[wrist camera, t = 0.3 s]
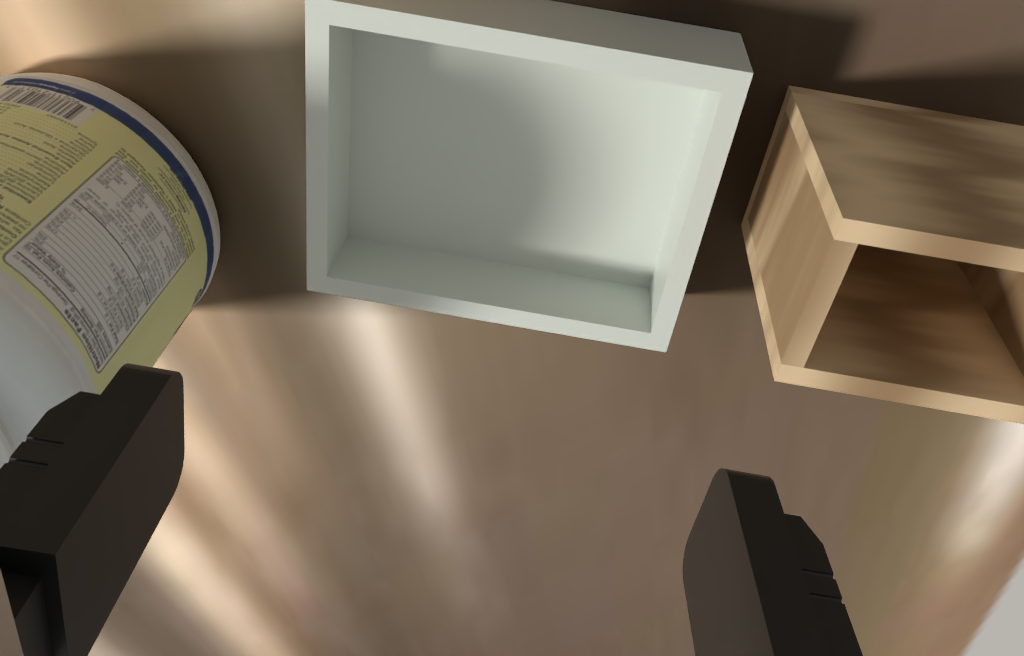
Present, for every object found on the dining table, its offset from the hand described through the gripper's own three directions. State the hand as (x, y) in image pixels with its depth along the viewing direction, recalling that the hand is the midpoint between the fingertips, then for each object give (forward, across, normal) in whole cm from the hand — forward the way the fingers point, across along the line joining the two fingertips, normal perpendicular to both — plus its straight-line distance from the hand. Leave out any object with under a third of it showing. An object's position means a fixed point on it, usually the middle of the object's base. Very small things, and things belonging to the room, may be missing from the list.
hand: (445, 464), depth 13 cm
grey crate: (+23, -1, +3) cm, 23 cm away
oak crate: (+22, -15, +2) cm, 27 cm away
